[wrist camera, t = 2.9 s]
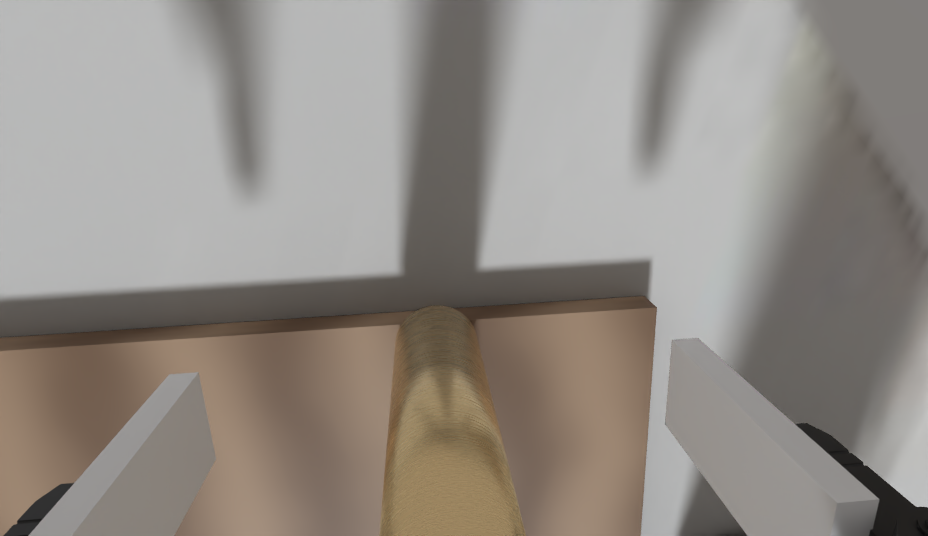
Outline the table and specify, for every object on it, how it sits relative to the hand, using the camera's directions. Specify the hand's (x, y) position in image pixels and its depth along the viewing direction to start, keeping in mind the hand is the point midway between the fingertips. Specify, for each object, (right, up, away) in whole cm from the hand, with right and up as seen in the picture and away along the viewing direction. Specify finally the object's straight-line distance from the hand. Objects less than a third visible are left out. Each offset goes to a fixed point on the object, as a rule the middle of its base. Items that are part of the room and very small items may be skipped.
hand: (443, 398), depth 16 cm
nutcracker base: (-6, -8, +8) cm, 13 cm away
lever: (0, -7, +6) cm, 9 cm away
